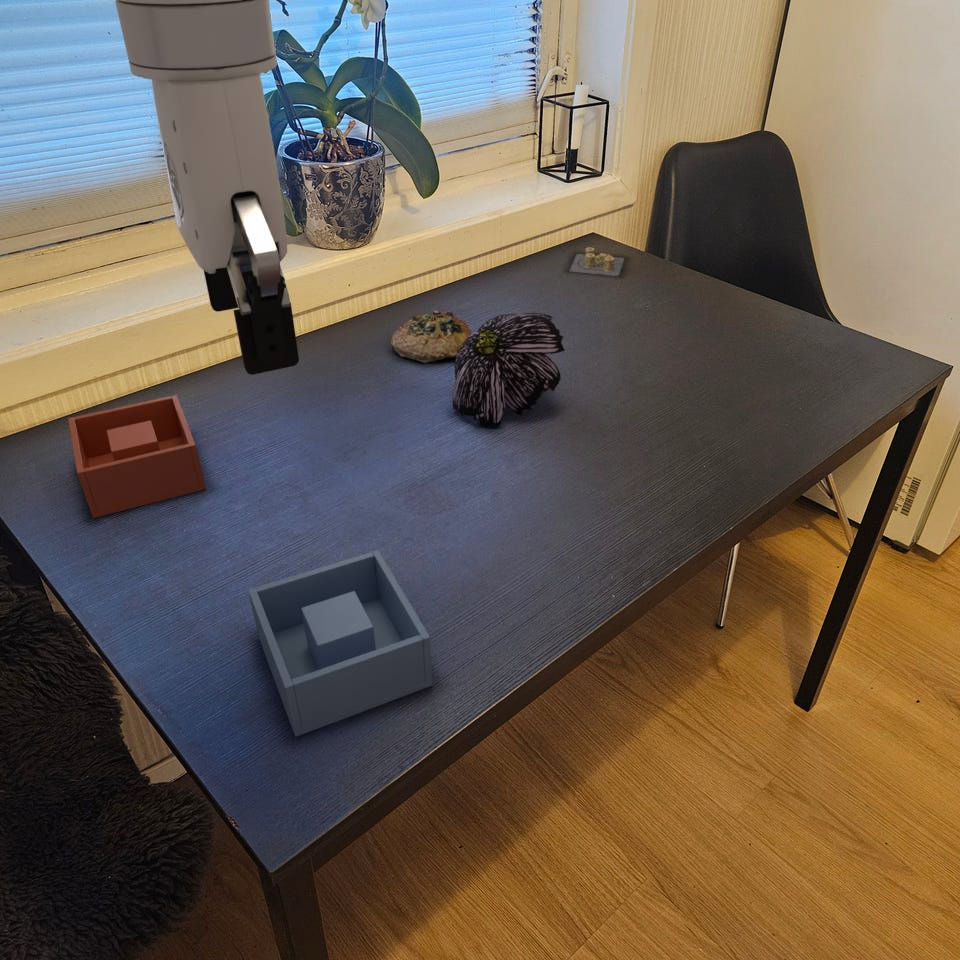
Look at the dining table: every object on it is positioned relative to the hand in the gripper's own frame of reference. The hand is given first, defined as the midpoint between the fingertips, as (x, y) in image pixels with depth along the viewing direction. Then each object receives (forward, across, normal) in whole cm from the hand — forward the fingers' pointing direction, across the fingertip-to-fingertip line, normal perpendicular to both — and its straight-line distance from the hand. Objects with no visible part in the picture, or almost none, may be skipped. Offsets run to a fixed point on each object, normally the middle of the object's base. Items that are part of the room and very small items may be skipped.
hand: (253, 335), depth 54 cm
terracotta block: (+28, -31, -9) cm, 43 cm away
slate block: (+28, +4, +2) cm, 28 cm away
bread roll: (+28, -45, +31) cm, 62 cm away
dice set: (+28, -60, +67) cm, 94 cm away
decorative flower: (+28, -28, +33) cm, 52 cm away
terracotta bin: (+28, -31, -9) cm, 43 cm away
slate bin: (+28, +4, +2) cm, 29 cm away
